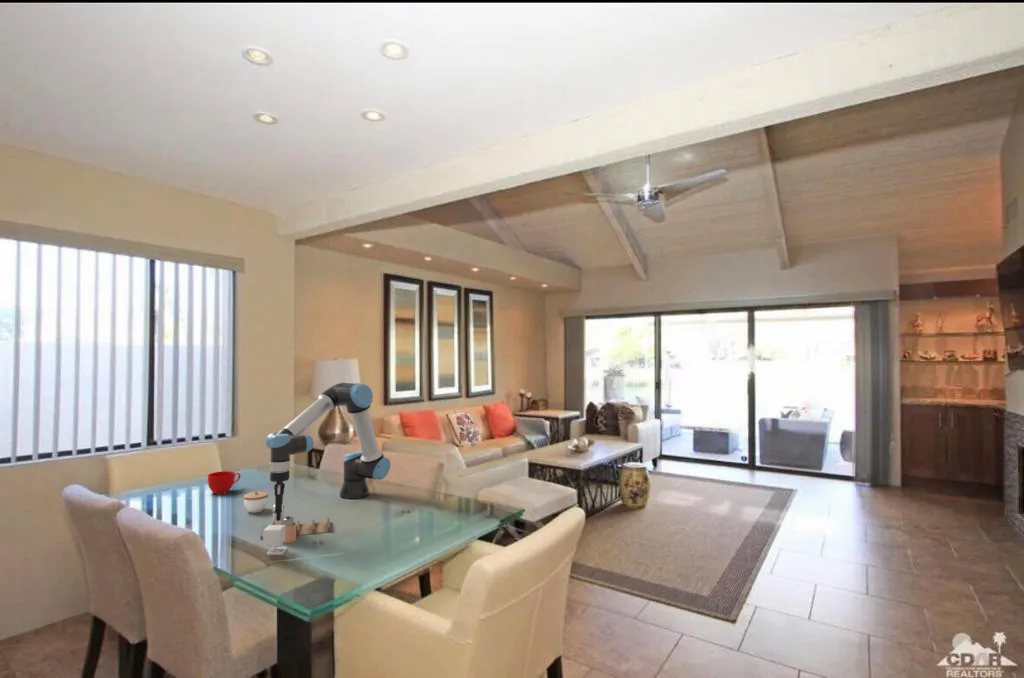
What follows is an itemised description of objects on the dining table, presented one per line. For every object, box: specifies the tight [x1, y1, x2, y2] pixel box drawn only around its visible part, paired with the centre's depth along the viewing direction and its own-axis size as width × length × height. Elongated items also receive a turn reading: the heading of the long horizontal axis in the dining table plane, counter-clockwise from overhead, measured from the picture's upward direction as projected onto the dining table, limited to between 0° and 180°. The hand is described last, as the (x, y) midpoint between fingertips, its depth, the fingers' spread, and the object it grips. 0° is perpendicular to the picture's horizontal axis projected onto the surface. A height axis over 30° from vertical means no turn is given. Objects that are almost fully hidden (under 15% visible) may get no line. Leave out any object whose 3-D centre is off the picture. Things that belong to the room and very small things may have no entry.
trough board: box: [296, 517, 331, 537], centre depth 227 cm, size 13×14×2 cm
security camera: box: [262, 524, 288, 556], centre depth 200 cm, size 6×7×10 cm
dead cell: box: [283, 515, 294, 527], centre depth 213 cm, size 4×4×10 cm
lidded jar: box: [243, 490, 269, 514], centre depth 252 cm, size 11×11×9 cm
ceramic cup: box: [207, 470, 241, 495], centre depth 284 cm, size 13×17×10 cm
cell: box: [272, 502, 285, 525], centre depth 222 cm, size 4×4×10 cm
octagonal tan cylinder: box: [280, 521, 297, 544], centre depth 213 cm, size 6×6×7 cm
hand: (278, 525), depth 222 cm, fingers closed on cell, 4 cm apart
